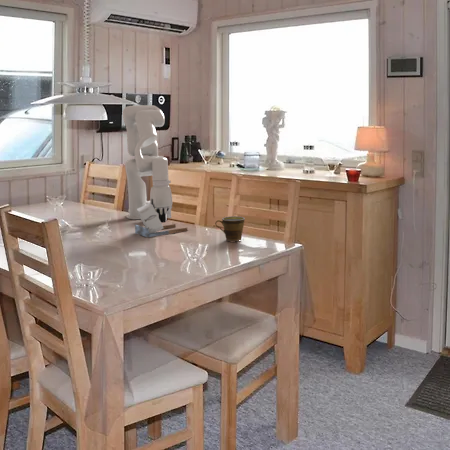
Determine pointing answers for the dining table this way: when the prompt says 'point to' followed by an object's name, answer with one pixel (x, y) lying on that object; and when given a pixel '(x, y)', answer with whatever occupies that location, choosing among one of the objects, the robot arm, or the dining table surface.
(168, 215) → the toilet tissue
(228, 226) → the ceramic cup
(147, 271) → the dining table surface
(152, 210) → the supplement box
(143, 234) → the blue brown forked frame
